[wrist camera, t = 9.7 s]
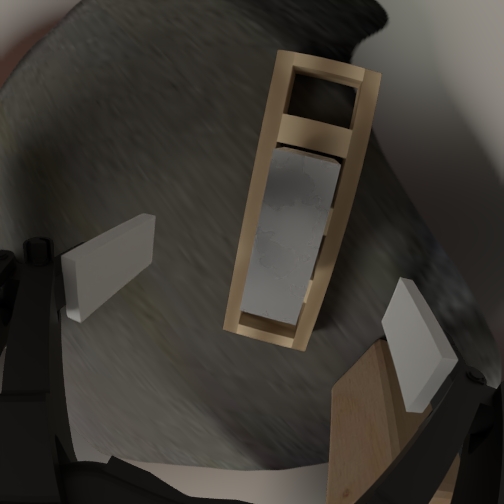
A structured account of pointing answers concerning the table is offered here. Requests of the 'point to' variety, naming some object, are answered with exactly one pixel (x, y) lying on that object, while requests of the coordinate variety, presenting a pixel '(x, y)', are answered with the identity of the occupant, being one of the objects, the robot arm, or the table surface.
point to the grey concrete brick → (289, 233)
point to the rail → (353, 152)
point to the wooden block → (372, 428)
